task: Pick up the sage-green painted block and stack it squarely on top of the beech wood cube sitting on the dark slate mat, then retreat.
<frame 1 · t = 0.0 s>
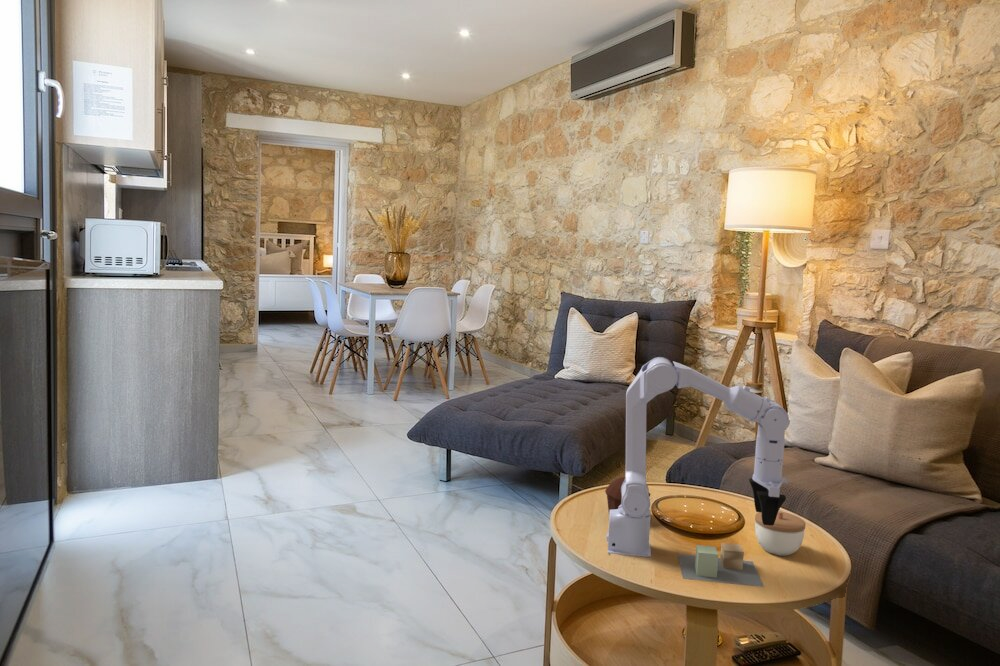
hand: (764, 518, 152), 10 cm above the table, fingers open, 7 cm apart
lidded jar: (777, 552, 159), on the table
slate mat: (718, 571, 148), on the table
beech cube: (731, 565, 151), resting on slate mat
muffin: (626, 518, 178), on the table
green block: (705, 572, 147), resting on slate mat
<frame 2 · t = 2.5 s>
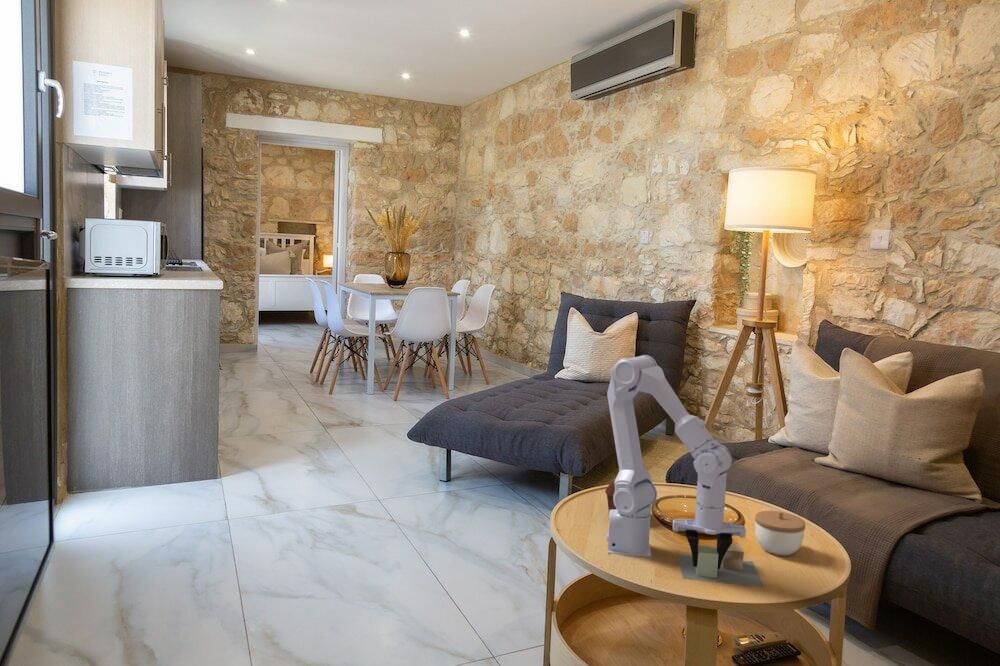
hand: (706, 565, 146), 2 cm above the table, fingers closed on green block, 4 cm apart
green block: (705, 572, 147), resting on slate mat, touching gripper
everything else where it was.
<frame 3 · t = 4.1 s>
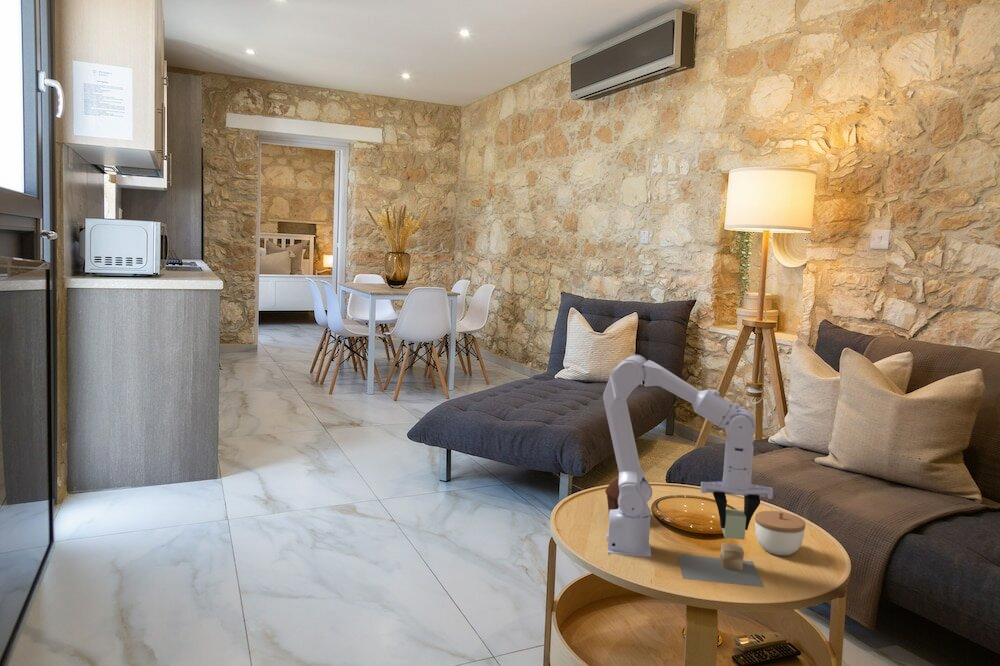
hand: (733, 527, 149), 9 cm above the table, fingers closed on green block, 4 cm apart
green block: (733, 535, 149), point 7 cm above the table, touching gripper
everything else where it was.
when the fingers open (7 cm above the table, at t = 5.4 s): green block stays where it is, resting on beech cube.
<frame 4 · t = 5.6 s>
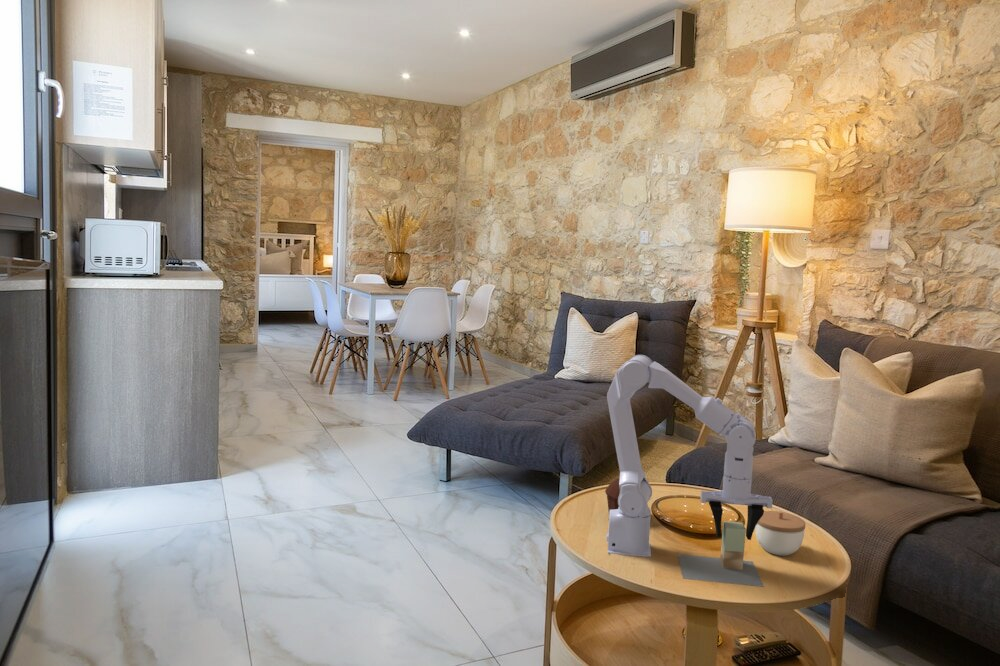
hand: (733, 536, 150), 7 cm above the table, fingers open, 6 cm apart
beech cube: (731, 565, 151), resting on slate mat, touching green block
green block: (732, 547, 150), point 4 cm above the table, touching beech cube
everything else where it was.
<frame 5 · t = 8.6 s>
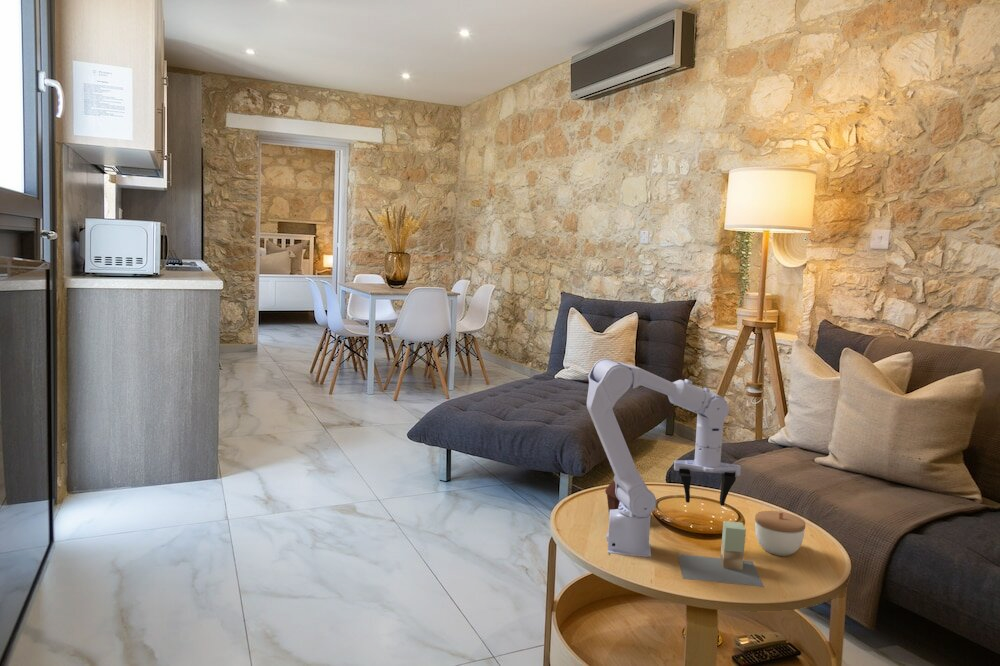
hand: (704, 502, 160), 10 cm above the table, fingers open, 7 cm apart
nothing on the table moved.
at the end: green block 0.1 cm off-centre on the beech cube, point 4.0 cm above the beech cube's base; green block tilted 0°; the gripper is holding nothing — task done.
